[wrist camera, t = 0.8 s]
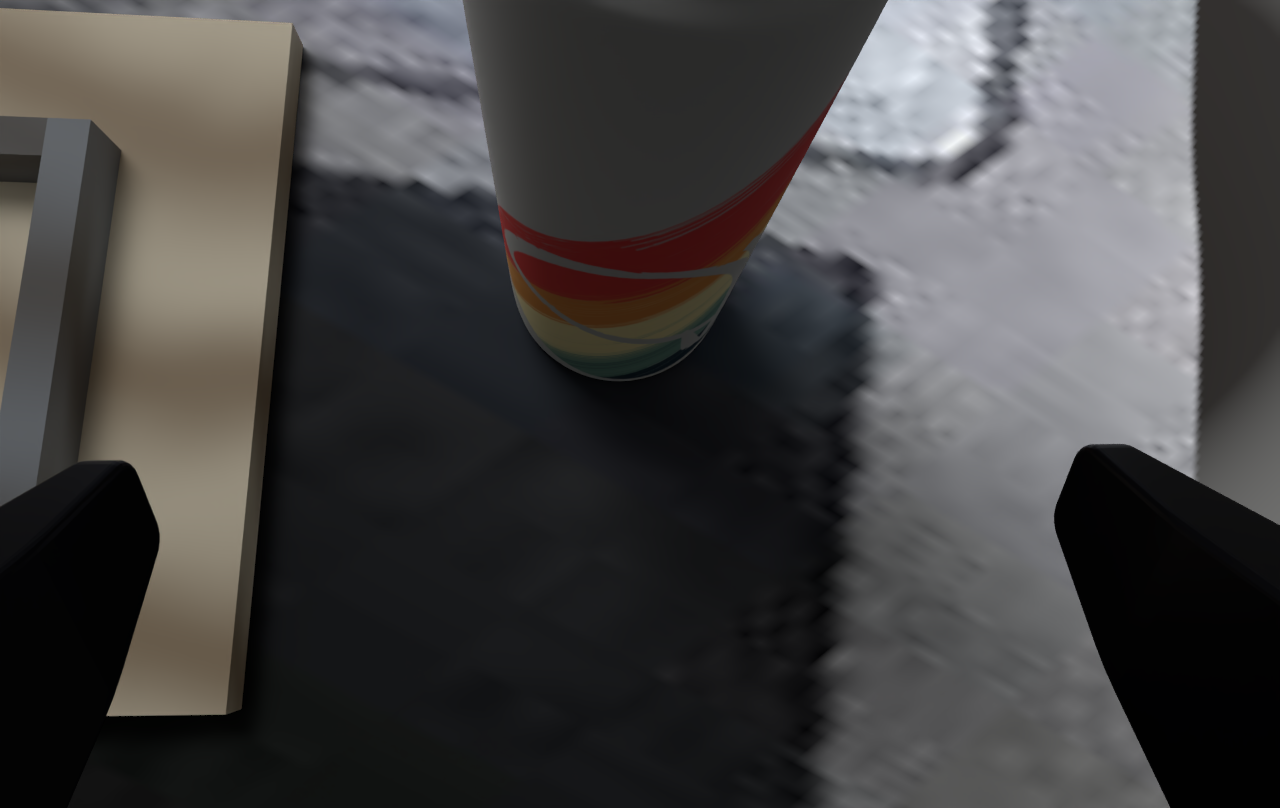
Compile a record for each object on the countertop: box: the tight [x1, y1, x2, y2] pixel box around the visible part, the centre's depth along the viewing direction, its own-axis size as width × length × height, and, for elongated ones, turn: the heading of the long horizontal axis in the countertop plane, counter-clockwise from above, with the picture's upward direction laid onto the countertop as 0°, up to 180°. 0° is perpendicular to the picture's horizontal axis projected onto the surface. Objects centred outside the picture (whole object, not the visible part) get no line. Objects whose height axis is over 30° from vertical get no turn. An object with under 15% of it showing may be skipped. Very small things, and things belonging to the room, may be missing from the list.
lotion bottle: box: [463, 0, 888, 381], centre depth 14 cm, size 6×6×20 cm
